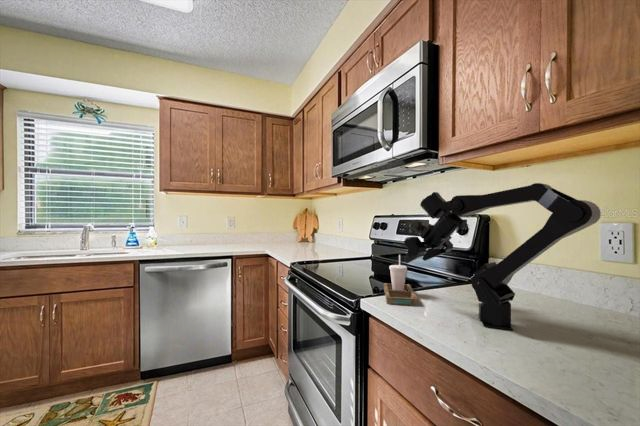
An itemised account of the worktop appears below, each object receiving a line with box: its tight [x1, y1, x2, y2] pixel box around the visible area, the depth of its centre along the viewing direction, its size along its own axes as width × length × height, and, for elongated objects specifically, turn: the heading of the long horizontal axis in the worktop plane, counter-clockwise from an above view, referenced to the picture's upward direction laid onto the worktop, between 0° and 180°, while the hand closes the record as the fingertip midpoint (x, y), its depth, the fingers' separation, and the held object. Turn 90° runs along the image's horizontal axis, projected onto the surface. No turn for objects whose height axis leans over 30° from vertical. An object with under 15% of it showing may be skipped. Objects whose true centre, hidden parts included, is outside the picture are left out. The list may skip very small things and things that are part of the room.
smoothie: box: [388, 254, 408, 290], centre depth 102 cm, size 6×6×14 cm
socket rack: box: [383, 282, 419, 307], centre depth 98 cm, size 18×10×2 cm, turn 170°
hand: (414, 260), depth 95 cm, fingers open, 9 cm apart
